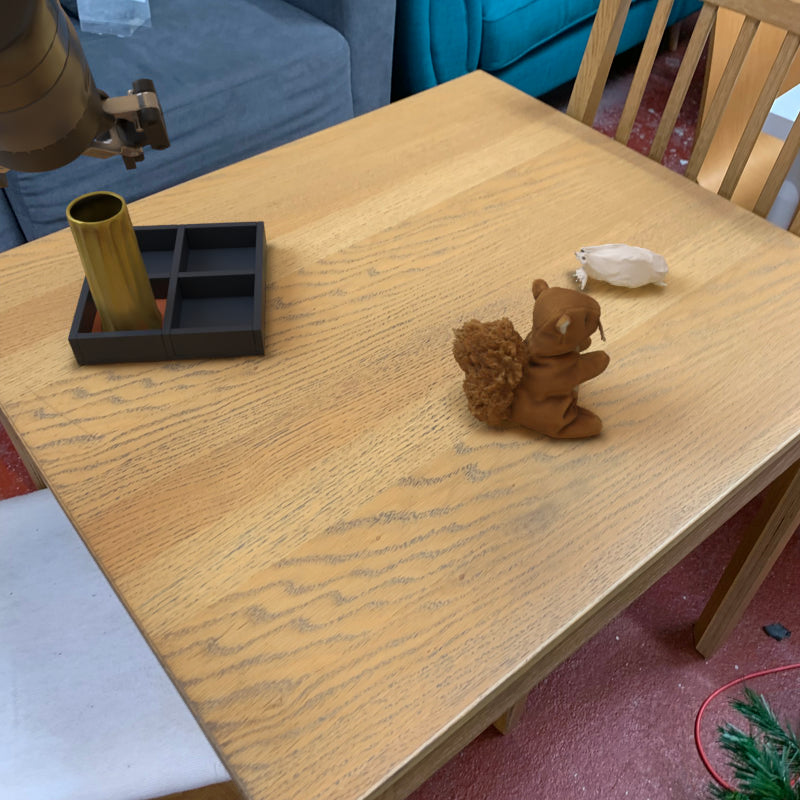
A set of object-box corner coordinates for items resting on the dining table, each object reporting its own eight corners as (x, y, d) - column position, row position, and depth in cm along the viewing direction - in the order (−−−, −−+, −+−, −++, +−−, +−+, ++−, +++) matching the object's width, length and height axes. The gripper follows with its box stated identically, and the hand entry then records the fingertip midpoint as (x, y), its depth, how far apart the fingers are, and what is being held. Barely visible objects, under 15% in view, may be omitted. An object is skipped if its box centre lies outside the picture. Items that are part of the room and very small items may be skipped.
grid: (78, 365, 76) (67, 339, 73) (106, 253, 88) (98, 227, 86) (264, 355, 78) (260, 329, 75) (267, 246, 90) (263, 220, 87)
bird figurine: (589, 313, 85) (675, 286, 85) (583, 261, 81) (674, 232, 81) (574, 292, 89) (656, 266, 89) (567, 241, 85) (654, 213, 85)
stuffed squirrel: (608, 436, 72) (645, 333, 62) (461, 452, 70) (475, 348, 60) (576, 362, 78) (604, 257, 68) (440, 375, 76) (450, 269, 67)
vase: (156, 300, 82) (124, 182, 71) (169, 336, 78) (137, 217, 67) (97, 314, 80) (55, 196, 69) (107, 352, 76) (65, 233, 66)
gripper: (139, -18, 39) (157, 97, 55) (-176, 9, 35) (-60, 123, 51) (173, 130, 39) (181, 202, 55) (-134, 170, 36) (-32, 234, 52)
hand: (65, 164), depth 53 cm, fingers open, 8 cm apart
